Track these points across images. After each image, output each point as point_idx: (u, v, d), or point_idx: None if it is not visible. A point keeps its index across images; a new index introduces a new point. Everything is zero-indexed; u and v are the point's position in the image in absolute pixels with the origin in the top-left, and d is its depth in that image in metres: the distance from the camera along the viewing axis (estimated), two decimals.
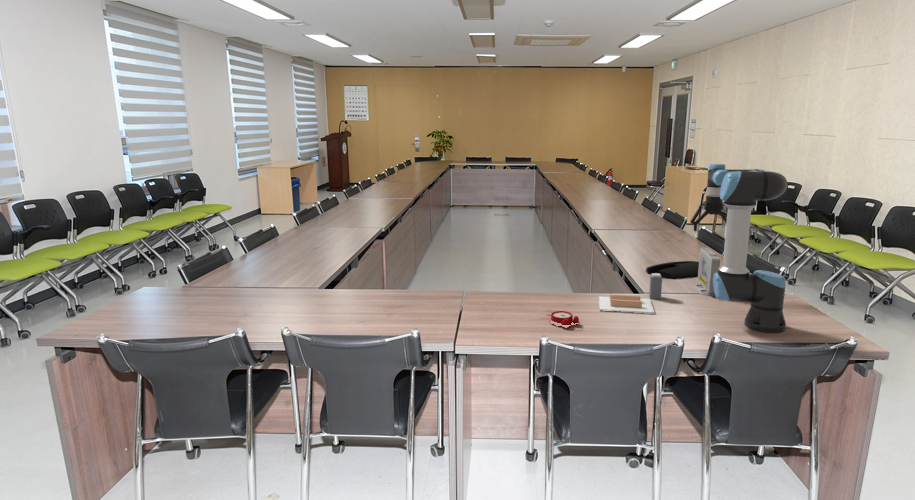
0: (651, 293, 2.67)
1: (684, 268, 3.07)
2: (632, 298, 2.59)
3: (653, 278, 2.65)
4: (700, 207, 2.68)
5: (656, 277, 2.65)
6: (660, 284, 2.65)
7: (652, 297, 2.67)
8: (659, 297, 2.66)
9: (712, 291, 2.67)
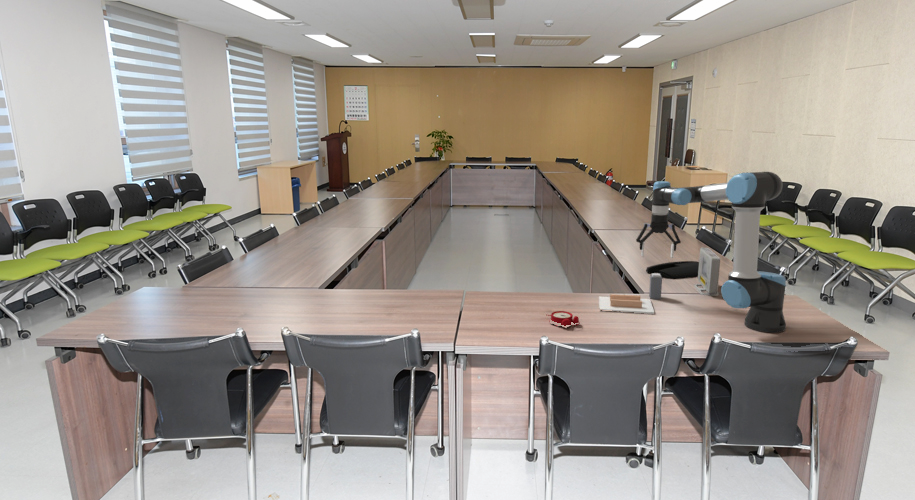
0: (651, 293, 2.67)
1: (684, 268, 3.07)
2: (632, 298, 2.59)
3: (653, 278, 2.65)
4: (645, 225, 2.62)
5: (656, 277, 2.65)
6: (660, 284, 2.65)
7: (652, 297, 2.67)
8: (659, 297, 2.66)
9: (712, 291, 2.67)
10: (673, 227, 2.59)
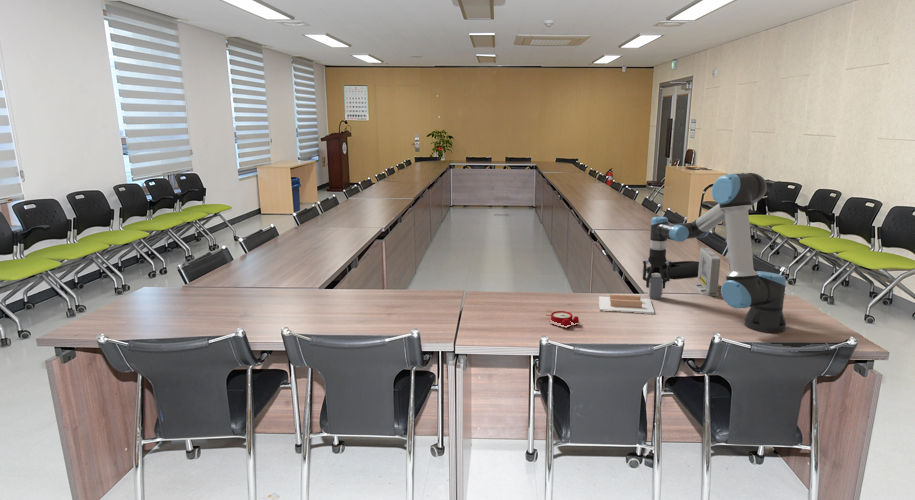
0: (651, 293, 2.67)
1: (684, 268, 3.07)
2: (632, 298, 2.59)
3: (653, 278, 2.65)
4: (644, 262, 2.66)
5: (656, 277, 2.65)
6: (660, 284, 2.65)
7: (652, 297, 2.67)
8: (659, 297, 2.66)
9: (712, 291, 2.67)
10: (669, 264, 2.63)
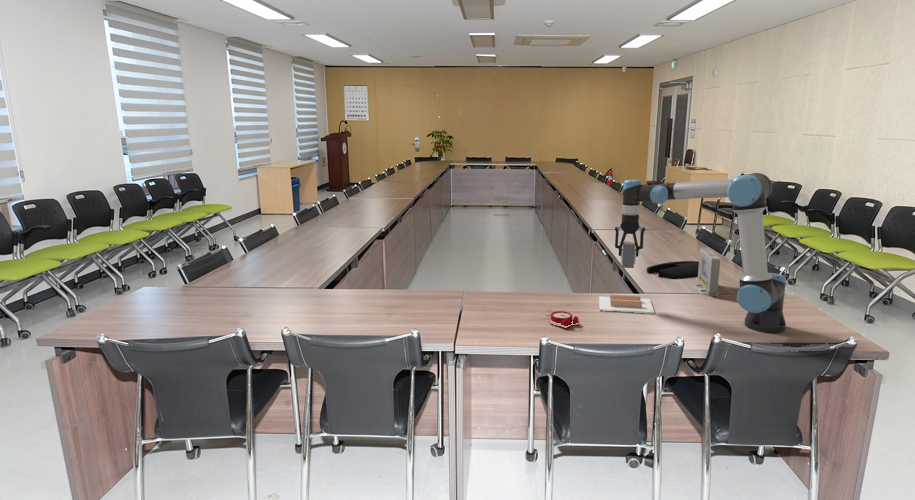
0: (623, 261, 2.51)
1: (684, 268, 3.08)
2: (632, 298, 2.59)
3: (625, 245, 2.50)
4: (616, 229, 2.50)
5: (629, 244, 2.49)
6: (633, 252, 2.49)
7: (624, 266, 2.52)
8: (632, 266, 2.51)
9: (712, 291, 2.67)
10: (643, 231, 2.48)
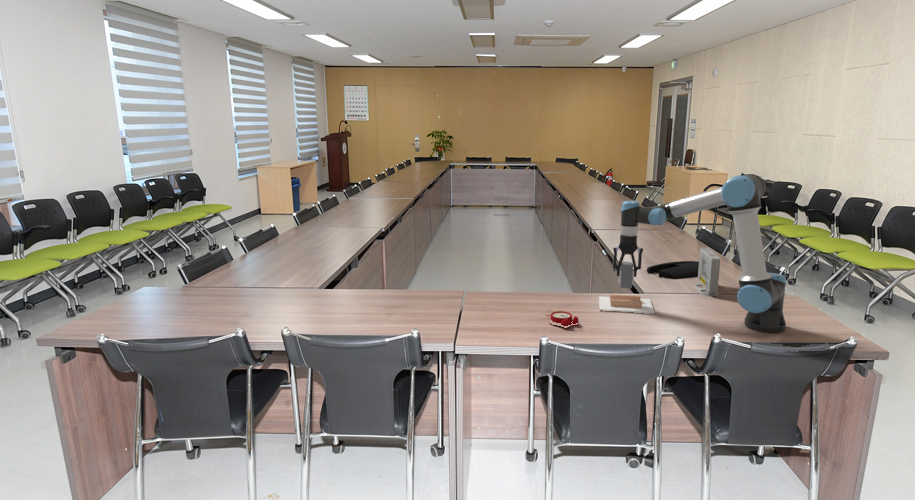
0: (622, 282, 2.53)
1: (685, 268, 3.08)
2: (632, 298, 2.59)
3: (624, 266, 2.51)
4: (614, 249, 2.52)
5: (627, 265, 2.51)
6: (631, 272, 2.51)
7: (623, 286, 2.53)
8: (630, 286, 2.53)
9: (712, 291, 2.67)
10: (641, 251, 2.49)
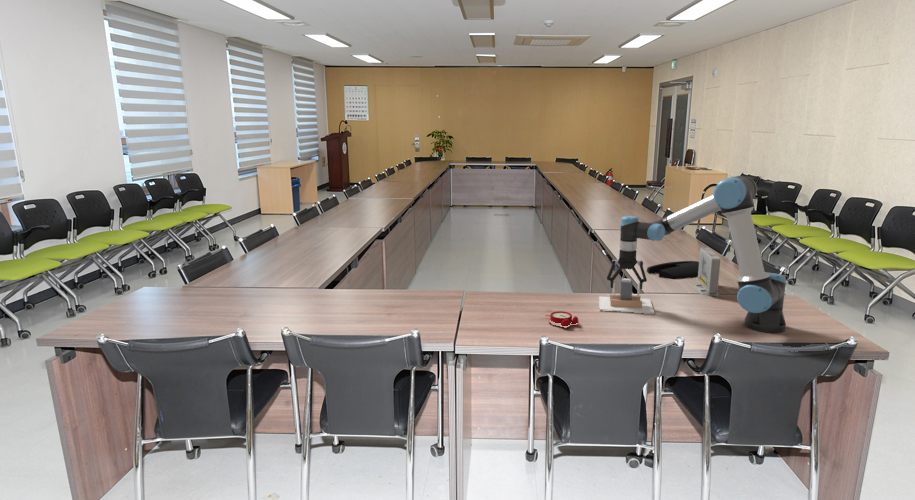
0: (621, 299, 2.55)
1: (685, 268, 3.08)
2: (632, 298, 2.59)
3: (623, 283, 2.53)
4: (613, 262, 2.53)
5: (626, 282, 2.53)
6: (630, 290, 2.53)
7: None
8: None
9: (712, 291, 2.67)
10: (641, 264, 2.50)
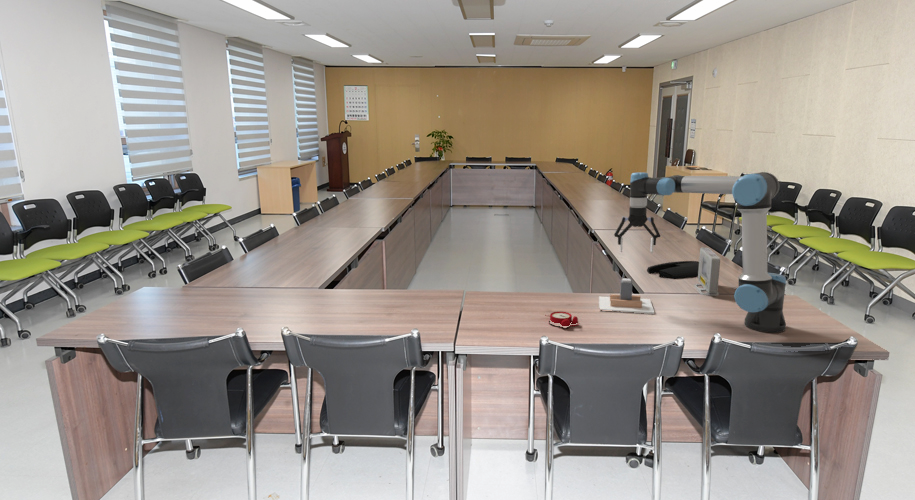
0: (621, 299, 2.55)
1: (685, 268, 3.08)
2: (632, 298, 2.59)
3: (623, 283, 2.53)
4: (623, 219, 2.50)
5: (626, 282, 2.53)
6: (630, 290, 2.53)
7: None
8: None
9: (712, 291, 2.67)
10: (652, 220, 2.47)
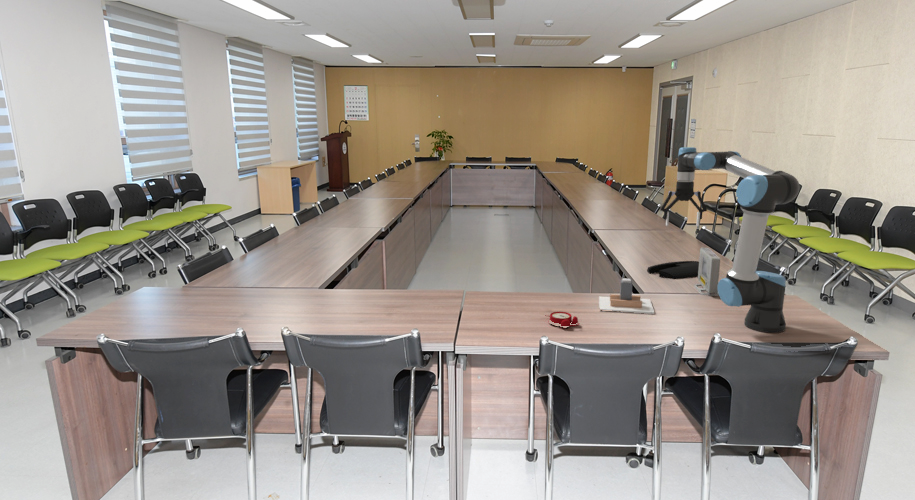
0: (621, 299, 2.55)
1: (685, 268, 3.08)
2: (632, 298, 2.59)
3: (623, 283, 2.53)
4: (670, 193, 2.54)
5: (626, 282, 2.53)
6: (630, 290, 2.53)
7: None
8: None
9: (712, 291, 2.67)
10: (699, 194, 2.51)
